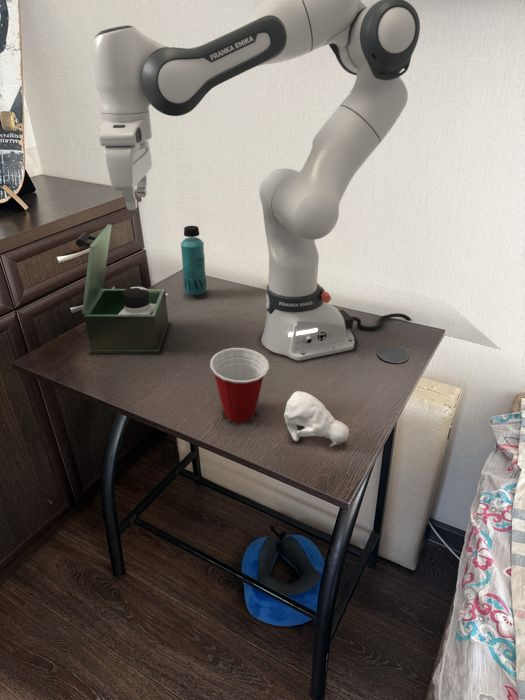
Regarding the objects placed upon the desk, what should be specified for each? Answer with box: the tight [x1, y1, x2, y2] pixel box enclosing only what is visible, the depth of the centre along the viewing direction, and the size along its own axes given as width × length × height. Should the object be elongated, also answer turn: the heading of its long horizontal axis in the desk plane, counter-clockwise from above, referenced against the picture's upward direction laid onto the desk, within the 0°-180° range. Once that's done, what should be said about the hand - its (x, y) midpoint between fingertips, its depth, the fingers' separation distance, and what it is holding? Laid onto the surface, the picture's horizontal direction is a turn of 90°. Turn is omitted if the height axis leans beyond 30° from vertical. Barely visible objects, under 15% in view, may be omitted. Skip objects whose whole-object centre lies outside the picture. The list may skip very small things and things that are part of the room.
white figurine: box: [283, 390, 350, 448], centre depth 90 cm, size 6×8×12 cm
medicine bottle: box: [118, 286, 156, 315], centre depth 119 cm, size 7×7×12 cm
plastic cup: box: [210, 347, 270, 423], centre depth 94 cm, size 11×11×12 cm
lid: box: [75, 223, 113, 315], centre depth 113 cm, size 16×15×5 cm
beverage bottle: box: [180, 225, 207, 296], centre depth 138 cm, size 6×7×20 cm
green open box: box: [84, 288, 169, 354], centre depth 120 cm, size 16×15×10 cm
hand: (137, 202), depth 101 cm, fingers open, 8 cm apart
